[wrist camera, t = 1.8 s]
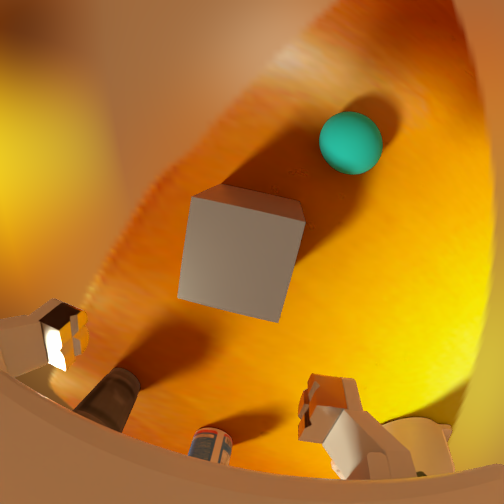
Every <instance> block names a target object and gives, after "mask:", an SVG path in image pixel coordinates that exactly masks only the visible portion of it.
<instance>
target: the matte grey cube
mask: <svg viewBox="0 0 504 504" xmlns="http://www.w3.org/2000/svg"><path fill="white" fill-rule="evenodd" d="M305 223H306V221H305V217H304V214H303V210H302V207H301V203H300V201H296V200H292V199H288V198H284V197H280V196H275V195H271V194H267V193H262V192H258V191H253V190H249V189H244V188H239V187H235V186H230V185H225V184H219V185H217V186H214V187H212V188H210V189H207V190H205V191H203V192H201V193H199V194H196V195H194V196H192V199H191V205H190V211H189V217H188V224H187V230H186V237H185V244H184V251H183V258H182V265H181V273H180V281H179V289H178V298H180V299H183V300H187V301H191V302H194V303H198V304H202V305H206V306H210V307H214V308H217V309H221V310H225V311H229V312H234V313H238V314H242V315H246V316H250V317H254V318H259V319H263V320H267V321H272V322H276V323H278V322H279V318H280V315H281V311H282V308H283V304H284V301H285V297H286V294H287V290H288V287H289V283H290V280H291V276H292V272H293V269H294V265H295V261H296V258H297V254H298V250H299V246H300V243H301V239H302V235H303V231H304V227H305Z"/></svg>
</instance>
